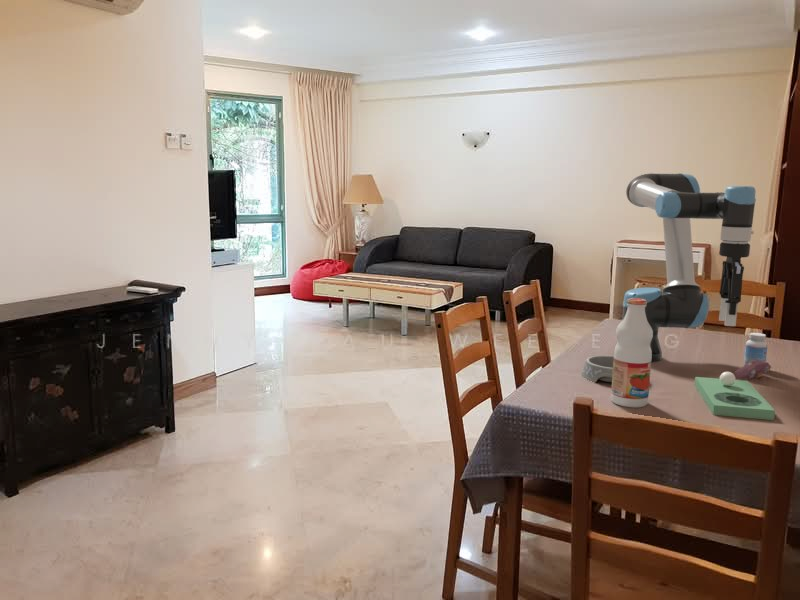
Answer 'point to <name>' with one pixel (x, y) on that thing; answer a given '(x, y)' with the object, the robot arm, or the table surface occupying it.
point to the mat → (733, 399)
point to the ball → (727, 378)
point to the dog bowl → (598, 368)
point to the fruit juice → (632, 357)
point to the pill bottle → (755, 348)
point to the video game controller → (753, 369)
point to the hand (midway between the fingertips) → (727, 323)
